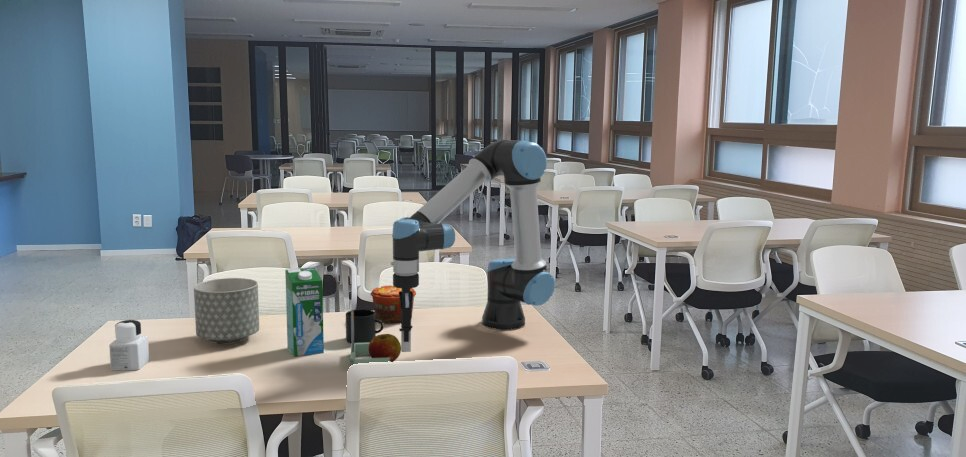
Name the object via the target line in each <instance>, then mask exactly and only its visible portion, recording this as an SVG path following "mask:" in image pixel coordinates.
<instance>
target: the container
mask: <svg viewBox="0 0 966 457" xmlns="http://www.w3.org/2000/svg"><path fill="white" fill-rule="evenodd" d="M114 332H115V339H114V341H112V342H111V343H110V344H109V360H110V369H111V371H139V370H141V368H143V367H144V366H145V365H146V364H147V363H149V361H150V354H149V353H150V350H149V337H148V336H147V335H142V325H141V321H139V320H135V319H125V320H122V321H119V322H117V323H116V324H115V325H114Z"/></svg>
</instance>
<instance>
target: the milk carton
mask: <svg viewBox="0 0 966 457" xmlns="http://www.w3.org/2000/svg"><path fill="white" fill-rule="evenodd" d="M284 271H285V299H286V300H285V302H286V303H285V304H286V305H285V306H286V309H285V310H286V335H287V336H286V338H287V339H286V340H287V342H286V343H287V349H288V350H289V352H290V354H292V356H293V357H301V356H309V355H315V354H322V353H324V352H325V351H324V349H325V348H324V346H325V343H324V342H325V341H324V303H323V302H324V300H323V299H324V296H323V295H324V294H323V293H324V292H323V288H324V287H323V279H322V277H321V276H320V274H319V272H318V270H317V269H316V267H314V266H313V267H302V268H301V267H300V268H290V269H289V268H288V269H285V270H284Z"/></svg>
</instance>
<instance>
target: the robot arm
mask: <svg viewBox="0 0 966 457" xmlns="http://www.w3.org/2000/svg"><path fill="white" fill-rule="evenodd" d="M547 165H548V160H547V155H546V153H545V151H544V149H543V148H542V147H541V146H540V145H539V144H538V143H536V142H534V141H533V142H532V141H527V140H513V139H512V140H511V139H500V140H496V141H495V142H491V143H490V144H488V145H486V146H485V147H484V148H483V149H481V150H480V151H479V152H478V153H476V154H475V155H474V156H473V157H472V158H470V160H469V161H468V165H467V166H466V167H465V168H464V169H463V170H462V171H461V172H459V173H458V174H456V176H455V177H453V179H452V180H451V181H450V182H448V183H447V184H445V186H444V187H442V188H441V189H440V190H439V191H438V192H437V193H436V194H435V195H434V196H432V197H431V198H430V199H429V200H428V201H426V203H425V204H423V205H422V206H420V208H419V209H418V210H417V211H415V213H413V214H412V215H411V216H409V217H408V216H407V217H402V218H400V219H397V220H395V221H394V222H393V225H392V261H391V262H390V265H391V266H392V272H393V274H392V286H394V287H396V288H401V292H399V298H400V307H401V323H400V328H399V332H401V333H400V334H401V335H400V345H401V352H402V353H408V352H411V351H412V346H411V345H412V340H411V339H412V329H413V325H412V319H411V308H412V300H413V293H412V291H410V289H411V288H413V289H416V288H417V287H419V285H420V279H419V278H420V275H419V271H420V252H426V251H428V252H429V251H437V250H444V249H445V250H446V249H450V248H452V247H453V246H454V244H455V242H456V231H455V229H454V226H452V225H451V224H449V223H443V220H444V219H445V218H446V217H447V216H448V215H450V214H451V213H452V212H454V210H455V209H456V208H458V207H459V206H460V205H461V204H462V203H463V202H464V201H465V200H467V199H468V198H469V197H470V196H471V195H472V194H473V193H474V192H475V191H476V190H477V189H479V188H480V187H481V186H482V185H483V184H484V183H485V184H486V183H487V184H488V183H489V182H491V181H492V180H493V179H495V178H497V177H500V176H503V178H504V185H505V187H507V188H508V190H509V193H510V194H509V196H510V207H511V220H512V221H511V222H512V233H513V234H512V235H513V243H514V244H513V245H514V258H512V257H511V258H498V259H492V260H491V261H489V262H488V264H487V265H488V266H487V299H486V300H487V303H486V305H485V308H484V311H483V313H482V317H481V325H482V326H484V327H487V328H488V329H492V330H500V331H501V330H504V331H505V330H517V329H521V328H523V327H524V326H525V325H526V315H525V313H524V310H523V307H522V303H525V304H527V305H530V306H531V305H532V306H537V307H538V306H542V305H544V304H546V303H547V302H548V301H549V300H550V298H551V297H552V296H553V293H554V292H555V287H556V280H555V278H554V276H553V275H552V273H550V272H548V267H547V262H546V260H545V259H543V258H542V248H541V247H542V246H541V236H540V235H541V234H540V233H541V232H540V222H539V221H540V220H539V206H538V205H539V203H538V191H537V190H538V189H537V187H538V186H539V184H540V183H541V177H543V175H544V174H545V170H546V169H547ZM401 352H400V353H401Z"/></svg>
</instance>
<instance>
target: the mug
mask: <svg viewBox="0 0 966 457" xmlns="http://www.w3.org/2000/svg"><path fill="white" fill-rule="evenodd" d="M351 311H354V343H369V342H370V341H371V340H372V339H373V338H374V337H375V336H377V335H376V334H379V333H381V332H382V331H383V329H384V323H382V321H380V320H378V319H376V314H375V312H374V310H372V309H365V308H360V309H352V310H349V311H347V312H345V341H346V342H347V343H349V344H351ZM377 323H378V324H379V325H380V328H379V329H378V330H377V329H376V326H377Z"/></svg>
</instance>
